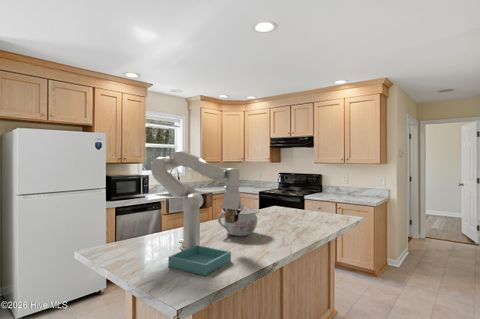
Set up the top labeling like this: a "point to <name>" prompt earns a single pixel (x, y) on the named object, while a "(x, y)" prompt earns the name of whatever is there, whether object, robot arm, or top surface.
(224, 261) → the bin
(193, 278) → the top surface
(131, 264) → the top surface
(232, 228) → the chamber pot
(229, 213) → the walnut block
